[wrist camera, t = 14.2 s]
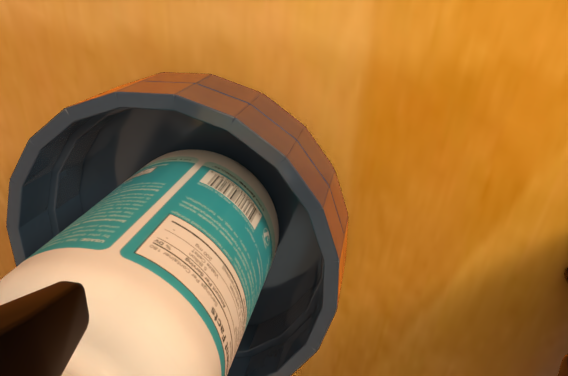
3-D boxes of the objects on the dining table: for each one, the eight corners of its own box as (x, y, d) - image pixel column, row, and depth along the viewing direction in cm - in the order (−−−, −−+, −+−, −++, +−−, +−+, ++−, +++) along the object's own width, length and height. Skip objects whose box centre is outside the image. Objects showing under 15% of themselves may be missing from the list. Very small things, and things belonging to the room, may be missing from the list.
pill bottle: (133, 264, 25) (-107, 527, 13) (136, 128, 22) (-172, 310, 10) (272, 299, 24) (153, 617, 12) (296, 163, 21) (168, 409, 9)
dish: (414, 206, 22) (419, 259, 18) (240, 377, 28) (214, 446, 24) (151, 0, 20) (91, 6, 16) (30, 227, 26) (-36, 272, 22)
